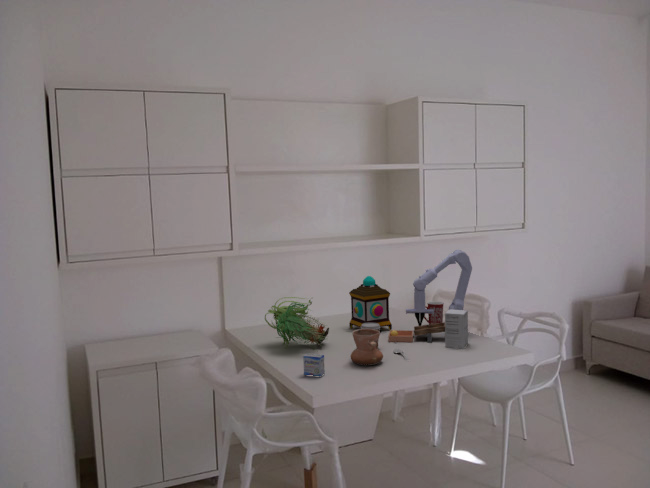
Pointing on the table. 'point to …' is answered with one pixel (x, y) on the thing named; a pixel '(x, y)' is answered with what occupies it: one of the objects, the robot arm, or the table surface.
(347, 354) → the table surface
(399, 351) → the spoon
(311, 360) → the medicine box
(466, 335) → the supplement box
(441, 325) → the brown wooden tray
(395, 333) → the ball
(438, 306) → the mug
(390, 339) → the tray
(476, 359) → the table surface
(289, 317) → the plant
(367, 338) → the ceramic jug
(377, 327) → the disposable coffee cup
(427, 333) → the seesaw stand
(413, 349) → the table surface
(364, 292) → the decorative lantern
